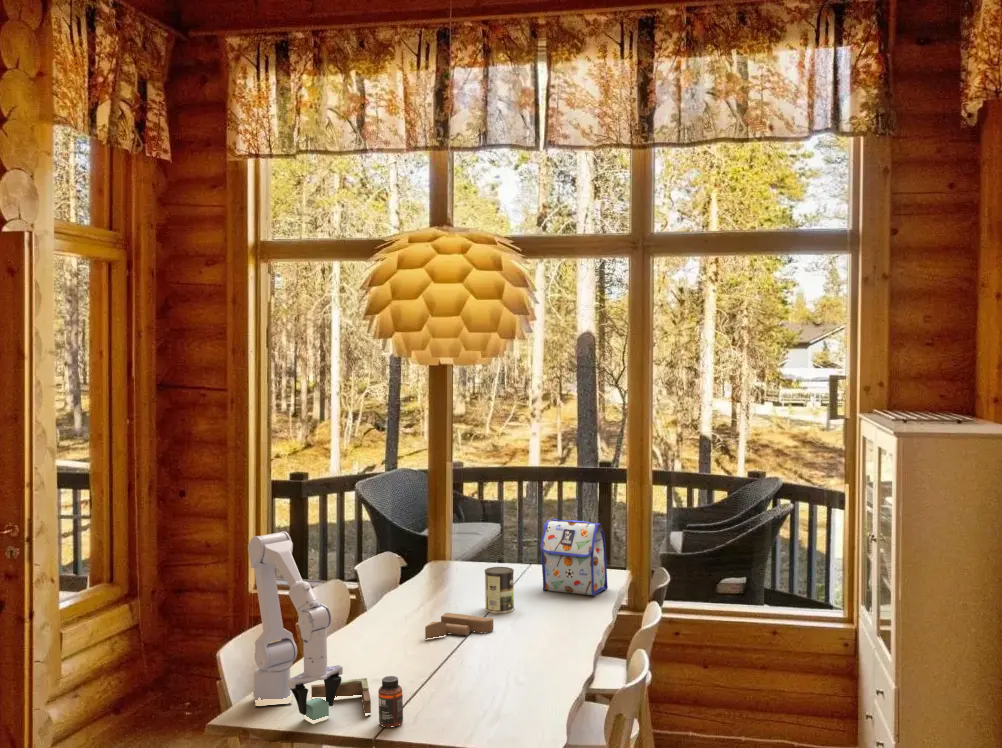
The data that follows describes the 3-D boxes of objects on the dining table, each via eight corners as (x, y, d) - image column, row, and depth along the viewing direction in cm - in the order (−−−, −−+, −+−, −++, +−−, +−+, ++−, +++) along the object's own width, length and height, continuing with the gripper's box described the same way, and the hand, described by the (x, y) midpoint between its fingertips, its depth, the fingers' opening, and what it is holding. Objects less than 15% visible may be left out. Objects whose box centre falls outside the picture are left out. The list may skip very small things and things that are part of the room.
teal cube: (313, 725, 224) (312, 707, 223) (303, 719, 227) (303, 702, 227) (328, 720, 227) (328, 702, 227) (319, 714, 230) (319, 697, 230)
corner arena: (312, 721, 226) (311, 703, 225) (311, 700, 239) (311, 683, 239) (370, 715, 229) (370, 697, 229) (366, 695, 242) (366, 678, 242)
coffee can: (514, 605, 326) (513, 566, 325) (513, 613, 316) (513, 573, 315) (485, 605, 326) (485, 566, 326) (484, 613, 316) (484, 573, 315)
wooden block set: (443, 609, 304) (493, 614, 297) (443, 625, 304) (494, 631, 297) (422, 623, 288) (474, 629, 281) (422, 641, 288) (474, 647, 282)
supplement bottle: (404, 718, 227) (403, 673, 227) (402, 728, 221) (401, 682, 221) (380, 719, 227) (379, 674, 226) (377, 729, 221) (377, 683, 220)
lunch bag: (537, 592, 343) (536, 522, 342) (555, 582, 357) (554, 514, 357) (593, 599, 332) (592, 527, 331) (609, 588, 347) (609, 519, 346)
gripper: (297, 666, 218) (298, 722, 219) (348, 652, 228) (349, 705, 229) (283, 659, 224) (284, 713, 224) (333, 645, 233) (334, 698, 234)
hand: (316, 709), depth 227 cm, fingers open, 7 cm apart
